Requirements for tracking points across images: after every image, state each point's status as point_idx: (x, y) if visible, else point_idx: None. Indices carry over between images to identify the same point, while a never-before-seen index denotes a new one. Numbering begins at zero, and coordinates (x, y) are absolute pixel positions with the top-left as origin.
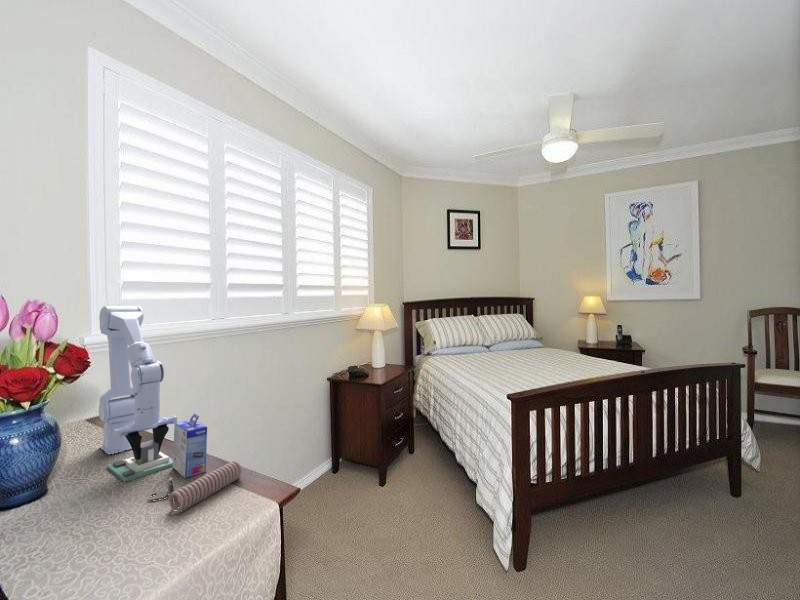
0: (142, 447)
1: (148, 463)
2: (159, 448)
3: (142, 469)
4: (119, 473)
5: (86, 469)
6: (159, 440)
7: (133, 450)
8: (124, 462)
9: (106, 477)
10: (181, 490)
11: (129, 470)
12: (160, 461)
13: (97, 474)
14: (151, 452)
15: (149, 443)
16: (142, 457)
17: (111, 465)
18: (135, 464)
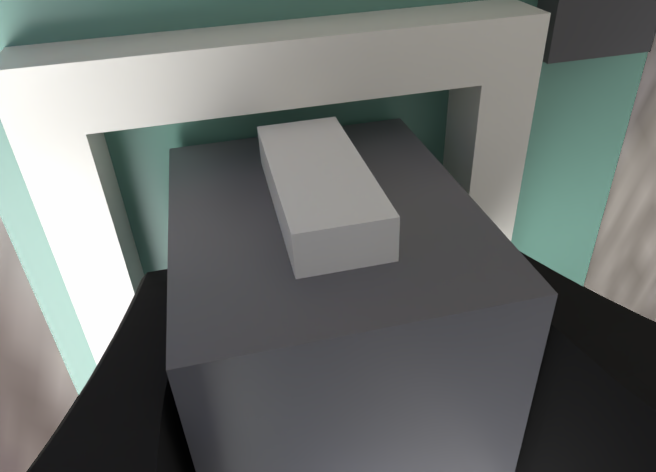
0: (531, 319)
1: (361, 36)
2: (137, 317)
3: (427, 5)
4: (618, 118)
5: None
6: (130, 462)
7: None
8: None
9: (647, 183)
10: None
11: (578, 53)
12: (156, 44)
13: (635, 299)
14: (324, 196)
15: (336, 455)
16: (447, 178)
17: None
18: (489, 151)
